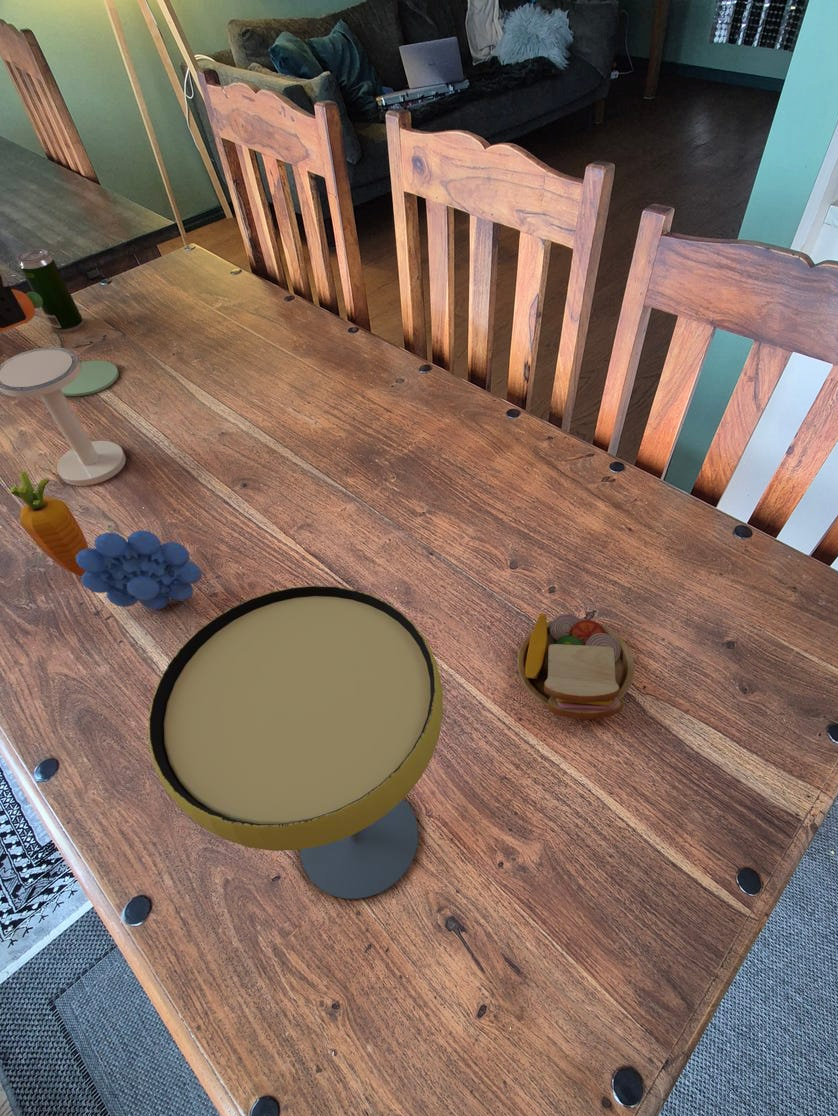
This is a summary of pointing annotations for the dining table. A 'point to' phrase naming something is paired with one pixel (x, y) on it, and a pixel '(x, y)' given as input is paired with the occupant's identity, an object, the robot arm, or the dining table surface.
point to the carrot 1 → (26, 306)
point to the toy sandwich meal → (576, 667)
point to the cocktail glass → (303, 731)
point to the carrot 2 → (51, 525)
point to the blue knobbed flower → (138, 570)
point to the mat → (92, 378)
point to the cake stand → (61, 411)
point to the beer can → (50, 290)
